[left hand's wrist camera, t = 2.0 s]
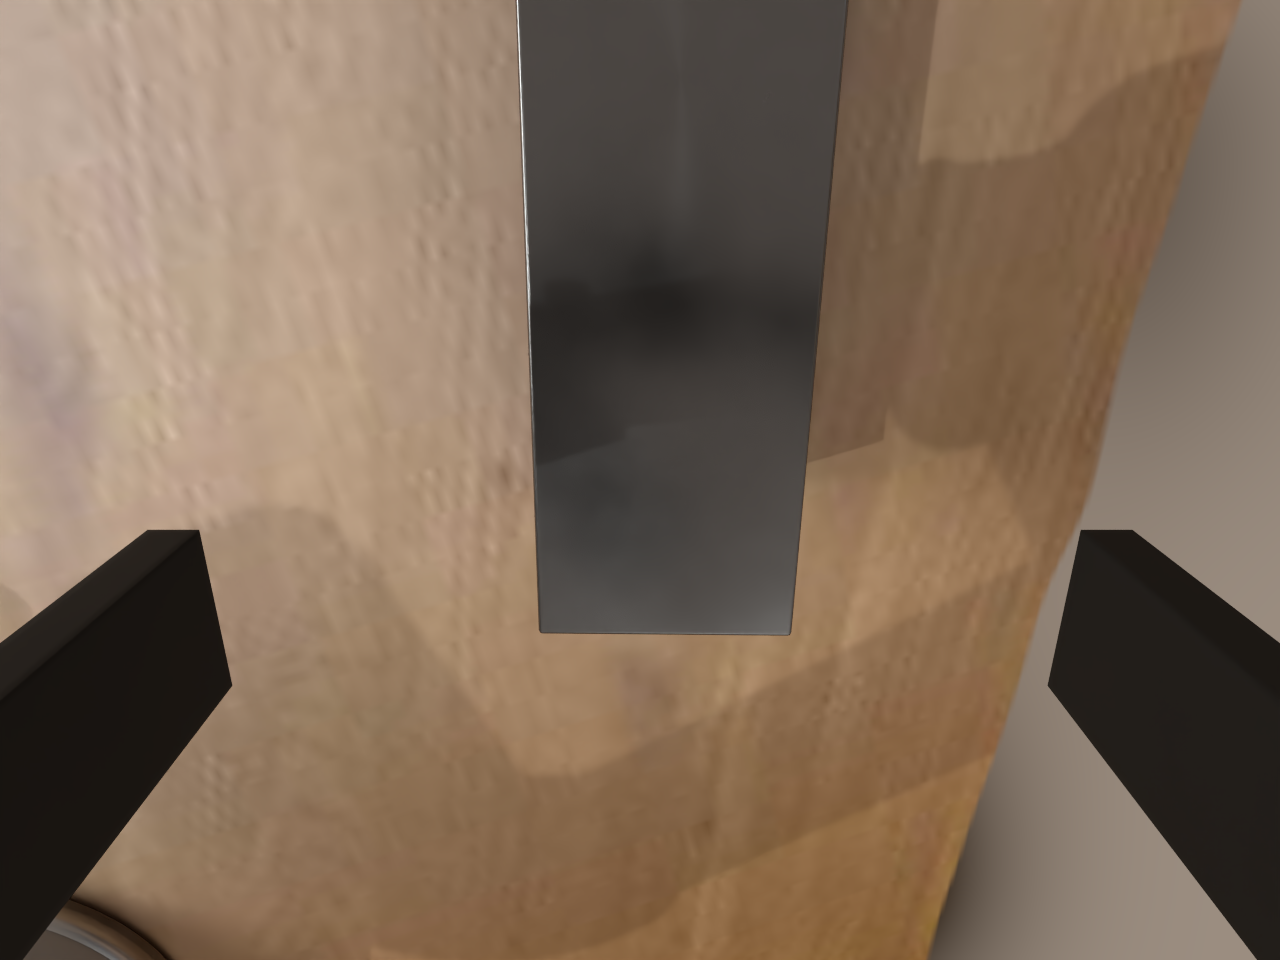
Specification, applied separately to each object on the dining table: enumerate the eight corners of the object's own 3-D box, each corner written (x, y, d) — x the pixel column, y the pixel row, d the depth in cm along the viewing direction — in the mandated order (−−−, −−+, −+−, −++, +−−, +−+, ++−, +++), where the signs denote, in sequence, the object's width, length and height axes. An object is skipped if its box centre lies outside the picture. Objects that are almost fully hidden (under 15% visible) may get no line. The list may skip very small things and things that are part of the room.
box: (742, 483, 29) (791, 637, 20) (569, 481, 29) (538, 634, 20) (799, -434, 21) (934, -921, 11) (551, -439, 20) (480, -932, 11)
